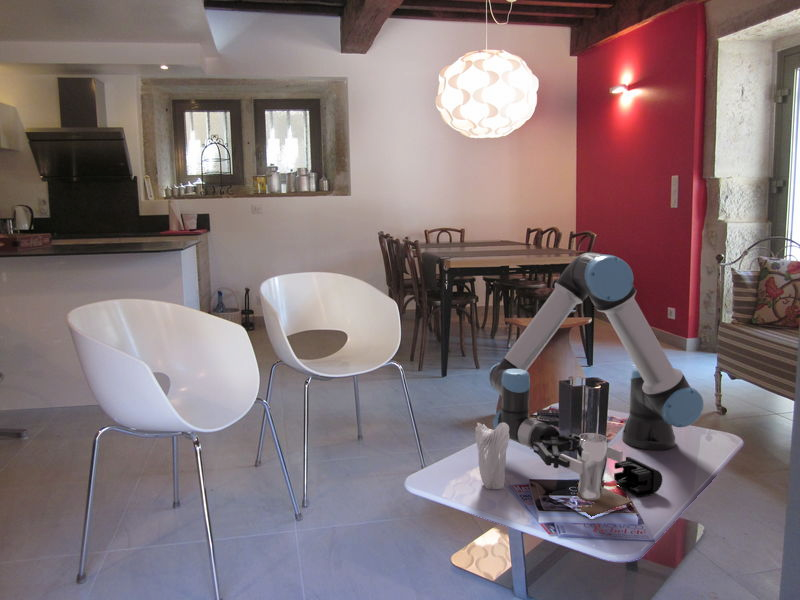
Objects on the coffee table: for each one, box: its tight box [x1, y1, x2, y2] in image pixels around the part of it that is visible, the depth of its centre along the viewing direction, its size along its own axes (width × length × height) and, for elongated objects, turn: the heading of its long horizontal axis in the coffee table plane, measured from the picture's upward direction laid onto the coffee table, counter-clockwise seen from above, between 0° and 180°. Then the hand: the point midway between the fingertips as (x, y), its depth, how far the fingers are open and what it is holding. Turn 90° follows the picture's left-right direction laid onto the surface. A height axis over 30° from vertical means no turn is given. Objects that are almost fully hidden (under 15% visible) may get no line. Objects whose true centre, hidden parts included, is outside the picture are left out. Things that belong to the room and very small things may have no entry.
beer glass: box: [576, 432, 608, 502], centre depth 162 cm, size 7×7×15 cm
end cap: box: [613, 456, 663, 499], centre depth 171 cm, size 10×7×7 cm
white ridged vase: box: [474, 422, 510, 490], centre depth 171 cm, size 8×8×18 cm
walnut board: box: [579, 486, 633, 517], centre depth 164 cm, size 14×14×1 cm
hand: (602, 462), depth 159 cm, fingers open, 13 cm apart
